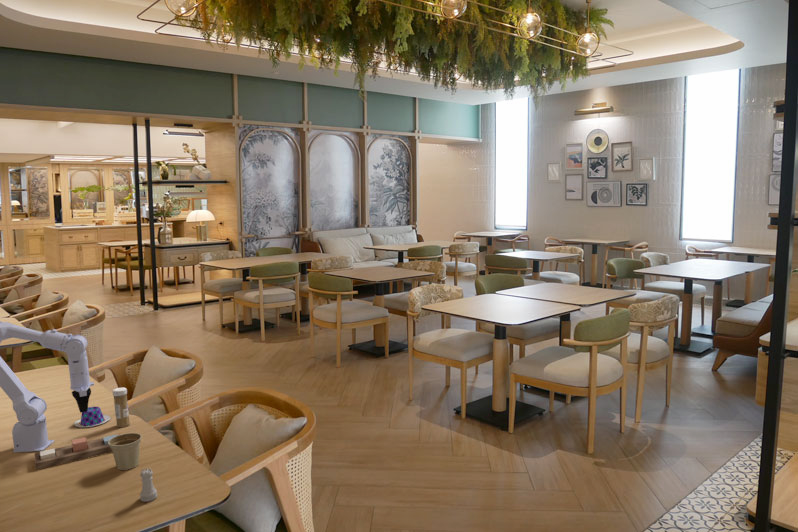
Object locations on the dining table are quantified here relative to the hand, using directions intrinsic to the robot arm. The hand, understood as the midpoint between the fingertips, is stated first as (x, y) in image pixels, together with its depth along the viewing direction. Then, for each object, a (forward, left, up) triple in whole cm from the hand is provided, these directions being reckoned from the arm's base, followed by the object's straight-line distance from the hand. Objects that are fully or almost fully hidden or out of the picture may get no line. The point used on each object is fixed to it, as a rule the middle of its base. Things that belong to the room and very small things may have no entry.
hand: (83, 411), depth 207 cm
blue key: (+11, -6, -10) cm, 16 cm away
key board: (+3, -11, -10) cm, 15 cm away
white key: (-5, -15, -10) cm, 19 cm away
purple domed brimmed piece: (-6, +18, -11) cm, 22 cm away
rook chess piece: (+36, -42, -11) cm, 56 cm away
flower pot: (+22, -21, -11) cm, 32 cm away
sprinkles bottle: (+7, +13, -11) cm, 18 cm away
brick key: (+3, -11, -9) cm, 14 cm away
